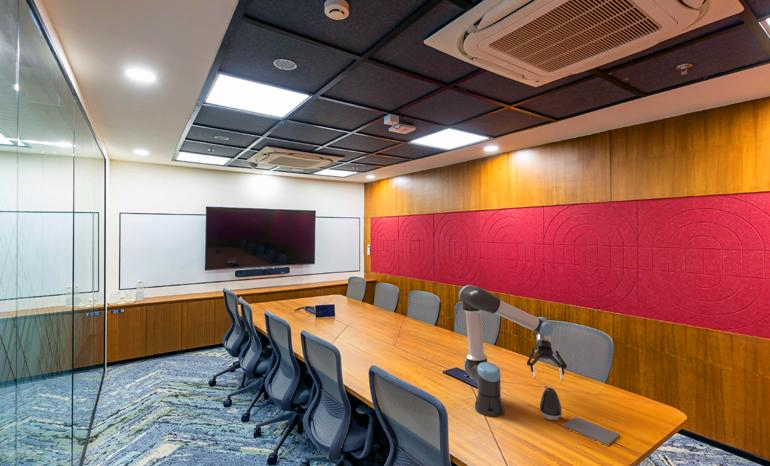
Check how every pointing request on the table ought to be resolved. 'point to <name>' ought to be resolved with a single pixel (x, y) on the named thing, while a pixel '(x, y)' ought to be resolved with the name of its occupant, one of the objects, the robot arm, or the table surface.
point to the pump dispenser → (550, 404)
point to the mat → (591, 430)
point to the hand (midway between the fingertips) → (548, 379)
